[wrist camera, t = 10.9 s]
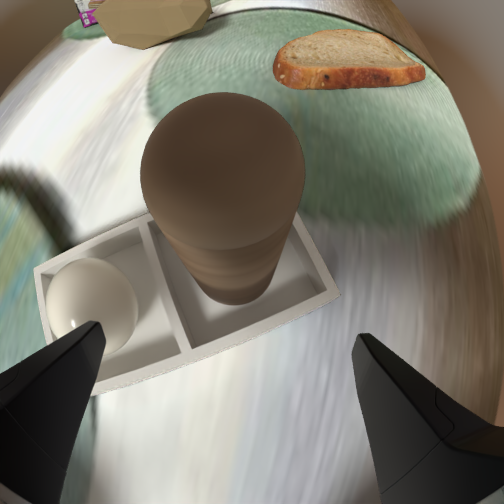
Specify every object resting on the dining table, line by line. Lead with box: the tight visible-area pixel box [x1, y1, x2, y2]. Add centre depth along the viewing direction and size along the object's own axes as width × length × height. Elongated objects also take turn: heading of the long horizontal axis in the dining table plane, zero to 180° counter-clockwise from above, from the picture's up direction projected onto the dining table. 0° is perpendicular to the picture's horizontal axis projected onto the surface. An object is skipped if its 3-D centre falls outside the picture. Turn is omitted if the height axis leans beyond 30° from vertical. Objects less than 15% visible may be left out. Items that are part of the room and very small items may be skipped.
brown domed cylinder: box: [140, 92, 305, 306], centre depth 12 cm, size 5×5×12 cm
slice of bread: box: [273, 29, 426, 90], centre depth 26 cm, size 18×18×4 cm
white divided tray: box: [34, 211, 341, 397], centre depth 17 cm, size 9×18×2 cm, turn 114°
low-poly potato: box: [92, 0, 213, 50], centre depth 24 cm, size 15×11×12 cm
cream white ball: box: [46, 258, 138, 356], centre depth 14 cm, size 6×6×6 cm
